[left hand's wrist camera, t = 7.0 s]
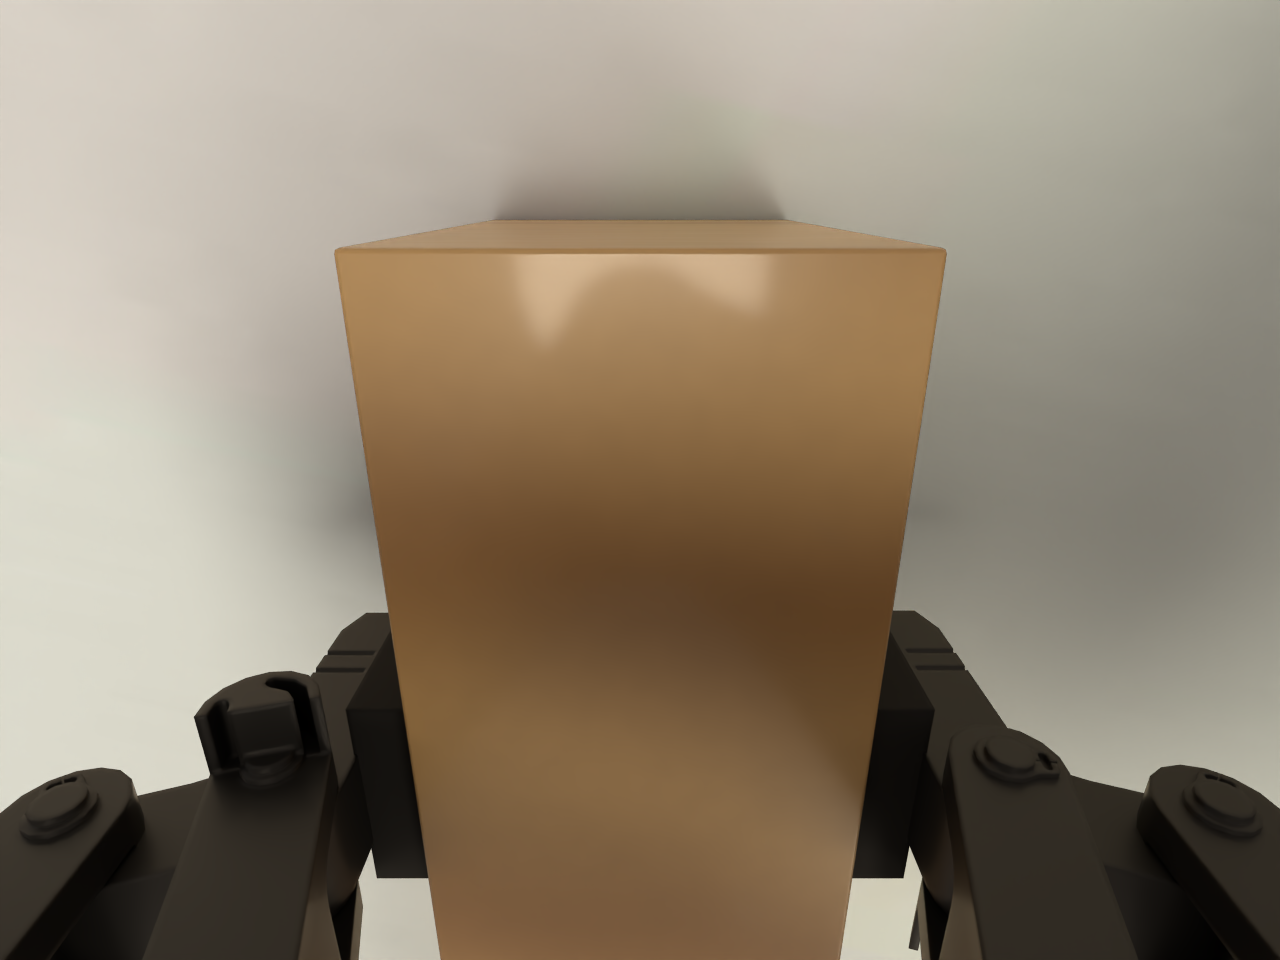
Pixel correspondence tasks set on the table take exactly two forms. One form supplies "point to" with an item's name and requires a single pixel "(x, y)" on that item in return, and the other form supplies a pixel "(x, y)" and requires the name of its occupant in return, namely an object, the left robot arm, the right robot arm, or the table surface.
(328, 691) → the left robot arm
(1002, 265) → the table surface
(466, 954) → the bar
